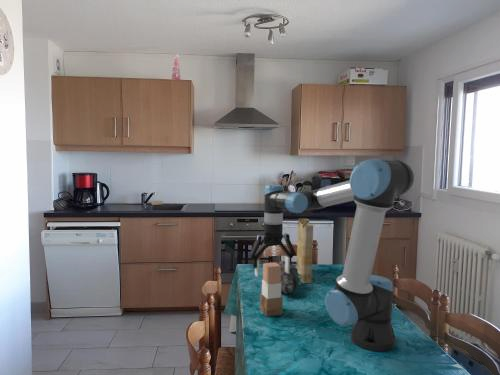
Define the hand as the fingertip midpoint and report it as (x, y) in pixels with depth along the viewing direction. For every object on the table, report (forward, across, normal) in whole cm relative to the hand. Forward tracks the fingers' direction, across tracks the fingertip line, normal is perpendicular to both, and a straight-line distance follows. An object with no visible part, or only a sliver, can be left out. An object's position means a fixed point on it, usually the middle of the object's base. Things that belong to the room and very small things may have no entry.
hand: (272, 274), depth 155 cm
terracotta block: (+3, 0, 0) cm, 3 cm away
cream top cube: (+9, 0, 0) cm, 9 cm away
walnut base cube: (+16, 0, 0) cm, 16 cm away
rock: (+16, -16, -21) cm, 31 cm away
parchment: (+16, -36, -37) cm, 54 cm away
